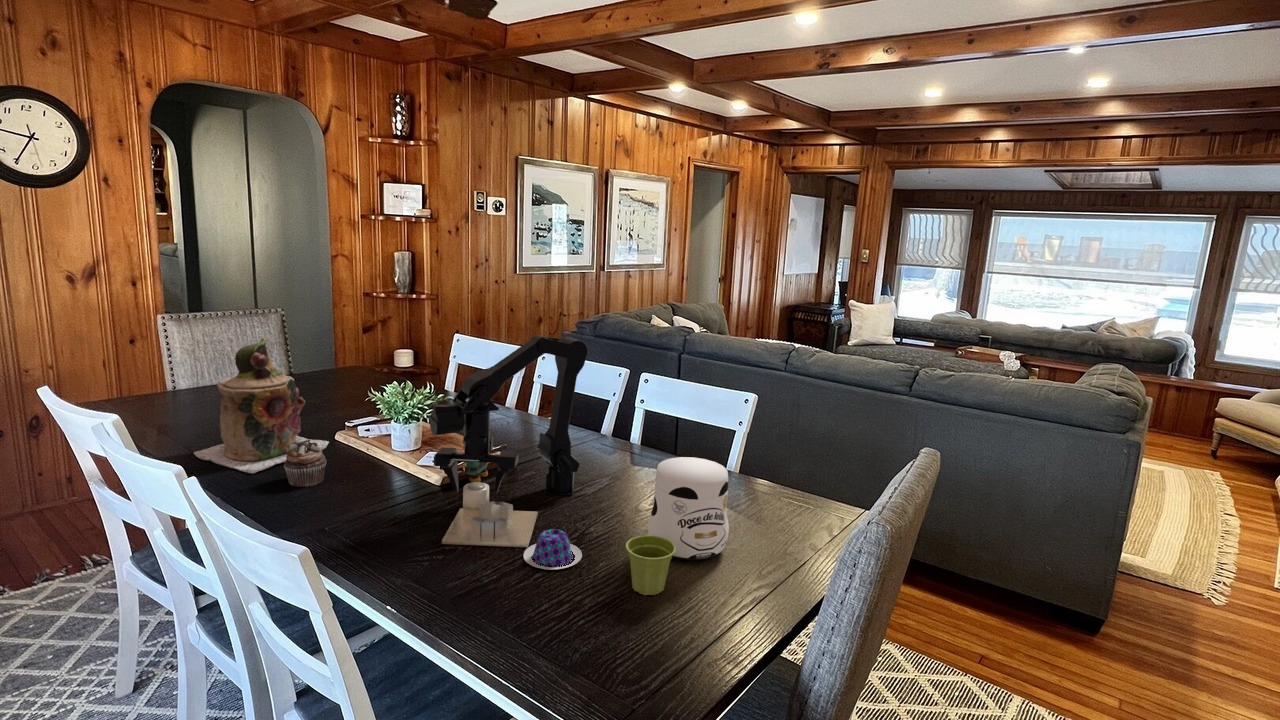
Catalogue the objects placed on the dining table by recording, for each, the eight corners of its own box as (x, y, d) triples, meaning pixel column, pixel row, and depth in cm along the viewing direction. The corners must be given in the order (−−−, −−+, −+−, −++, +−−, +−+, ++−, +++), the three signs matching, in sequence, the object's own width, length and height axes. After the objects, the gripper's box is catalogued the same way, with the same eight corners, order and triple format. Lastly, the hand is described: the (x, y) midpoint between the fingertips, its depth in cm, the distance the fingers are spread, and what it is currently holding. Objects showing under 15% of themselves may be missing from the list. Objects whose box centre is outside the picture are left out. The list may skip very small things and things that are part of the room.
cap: (491, 502, 162) (491, 481, 161) (486, 512, 156) (486, 490, 155) (466, 501, 162) (466, 479, 161) (460, 511, 156) (460, 489, 155)
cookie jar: (189, 458, 178) (179, 341, 172) (270, 434, 201) (264, 329, 194) (255, 476, 169) (247, 352, 163) (332, 448, 192) (328, 339, 185)
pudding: (551, 538, 146) (552, 516, 145) (593, 556, 139) (594, 533, 138) (510, 559, 136) (511, 535, 135) (553, 579, 129) (554, 554, 128)
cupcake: (276, 482, 166) (274, 444, 164) (310, 470, 175) (309, 434, 172) (301, 491, 162) (299, 452, 160) (335, 479, 170) (334, 441, 168)
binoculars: (456, 434, 180) (491, 435, 178) (460, 472, 182) (494, 473, 180) (440, 445, 171) (476, 445, 169) (444, 484, 173) (480, 485, 171)
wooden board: (537, 514, 156) (537, 498, 156) (527, 547, 141) (528, 529, 140) (460, 511, 156) (460, 495, 155) (441, 543, 140) (441, 526, 139)
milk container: (704, 576, 133) (711, 492, 130) (631, 550, 142) (636, 470, 138) (739, 544, 148) (746, 467, 144) (671, 522, 156) (676, 449, 153)
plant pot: (622, 575, 132) (624, 534, 130) (669, 575, 133) (672, 535, 131) (625, 601, 123) (627, 558, 121) (675, 601, 124) (678, 558, 122)
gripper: (522, 421, 163) (521, 481, 166) (445, 417, 163) (445, 478, 166) (515, 435, 152) (513, 499, 155) (432, 431, 152) (433, 496, 155)
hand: (476, 492), depth 158 cm, fingers open, 9 cm apart
